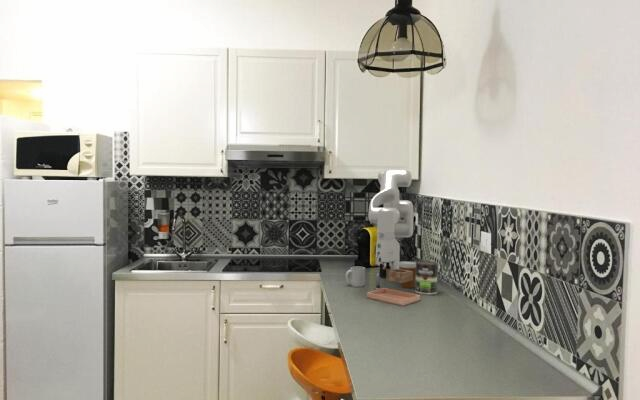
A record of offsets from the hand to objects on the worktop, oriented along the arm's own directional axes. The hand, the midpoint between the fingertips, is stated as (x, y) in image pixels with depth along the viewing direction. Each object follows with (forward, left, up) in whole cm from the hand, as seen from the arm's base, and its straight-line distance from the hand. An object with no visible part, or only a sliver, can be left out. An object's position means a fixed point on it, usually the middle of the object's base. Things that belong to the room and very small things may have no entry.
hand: (385, 276), depth 209 cm
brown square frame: (0, +5, 0) cm, 5 cm away
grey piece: (-12, -13, -9) cm, 20 cm away
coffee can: (-23, +7, -10) cm, 26 cm away
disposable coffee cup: (-27, -6, -10) cm, 29 cm away
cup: (-10, -26, -10) cm, 29 cm away
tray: (0, +4, -9) cm, 10 cm away
